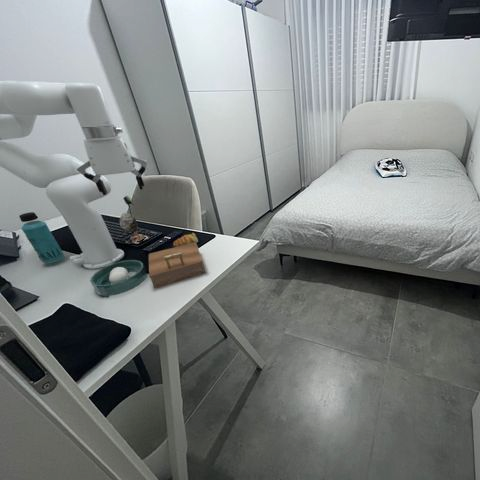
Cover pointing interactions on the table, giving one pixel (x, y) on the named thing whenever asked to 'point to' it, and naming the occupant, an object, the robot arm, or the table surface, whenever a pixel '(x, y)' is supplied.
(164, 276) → the brown wooden box base
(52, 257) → the beverage bottle
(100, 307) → the table surface
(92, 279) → the bowl
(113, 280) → the egg
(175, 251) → the egg box lid
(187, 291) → the table surface
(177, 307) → the table surface
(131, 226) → the plant with pod
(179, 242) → the pastry
